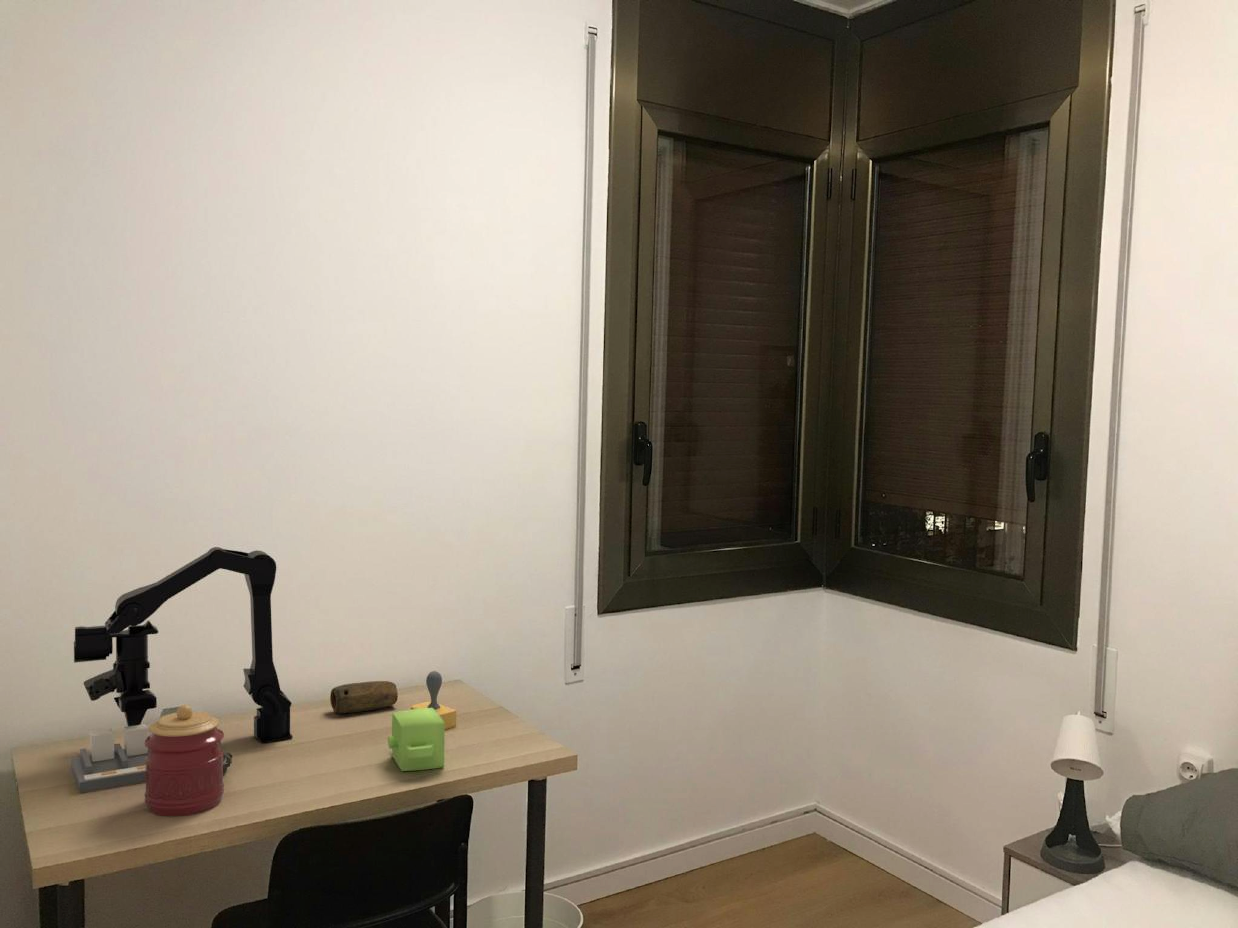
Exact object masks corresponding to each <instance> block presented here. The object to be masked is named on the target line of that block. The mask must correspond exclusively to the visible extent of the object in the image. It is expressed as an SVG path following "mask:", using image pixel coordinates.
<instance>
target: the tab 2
mask: <svg viewBox="0 0 1238 928" xmlns="http://www.w3.org/2000/svg"><path fill="white" fill-rule="evenodd" d="M148 736H149V727H148V726H147V724H146V723H144V724H143V723H142V724H140V725H135V726H124V727H123V737H124V738H123V741H124V742H123V743H124V744H123V747H124V748H123V749H124V752H125V754H126V756H127V757H128V756H134V755H140V754H147V753H148V748H147V747H146V746H145V744H144V741H145V739H146V738H147V737H148Z"/></svg>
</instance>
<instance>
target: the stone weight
mask: <svg viewBox="0 0 1238 928" xmlns="http://www.w3.org/2000/svg"><path fill="white" fill-rule="evenodd" d="M398 697H399V693H398V689H397V685H396V684H395V683H394V682H392V681H389V680H375V681H372V680H371V681H363V682H355V683H354V682H353V683H346V684H345V683H344V684H341V685H337V686H335V687H333V688H332V689H331V691H330V698H329V699H330V700H329V701H330V706H331V709H332V710H333V712H334V713H335V714H340V715H341V714H355V713H361V712H362V713H363V712H369V711H375V710H379V709H383V708H387V707H390V706H394V705H395V704H396V703H397V701H398Z"/></svg>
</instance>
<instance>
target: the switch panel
mask: <svg viewBox="0 0 1238 928" xmlns="http://www.w3.org/2000/svg"><path fill="white" fill-rule="evenodd" d="M147 754H148V753H147ZM147 754H140V755H134V756H128V757H127V756H126V754H125V752H124V748H123V747H122V745H121V743H114V759H108V760H102V761H96V762H92V761H91V758H90V754H89V753H88V751H87V748H82V749H81V748H80V749H79V756H72V757H70V769H71V772H72V775H73V777H74V780H75V784H76V787H77V790H78V793H79V794H83V793H84V794H85V793H90V792H97V791H101V790H106V789H113V788H118V787H119V788H120V787H125V786H130V785H136V784H143V783H146V764H145V758H146V757H147Z"/></svg>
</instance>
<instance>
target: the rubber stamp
mask: <svg viewBox="0 0 1238 928" xmlns="http://www.w3.org/2000/svg"><path fill="white" fill-rule="evenodd" d="M425 681H426V688H427V690H428V692H429V695H430V701H425V702H421V703H416V704H413V705H411V706H410V710H412V709H421V708H433V709H434V710H435V711H436V712H437V713H438V714H439V716H440V717H441V718H442V720H443V721H444V723H445V730H448V729H451V728H452V729H453V728H455V727H457V710H456V709H453V708H451V707H448V706H446V705H443V704H440V703H438V695H439V692H440V689H441V686H442V683H443V677H442V675H441V673H440V672H438V671H436V670H431V671H430V672H429V673H428V674H427V676H426V680H425Z"/></svg>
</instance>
